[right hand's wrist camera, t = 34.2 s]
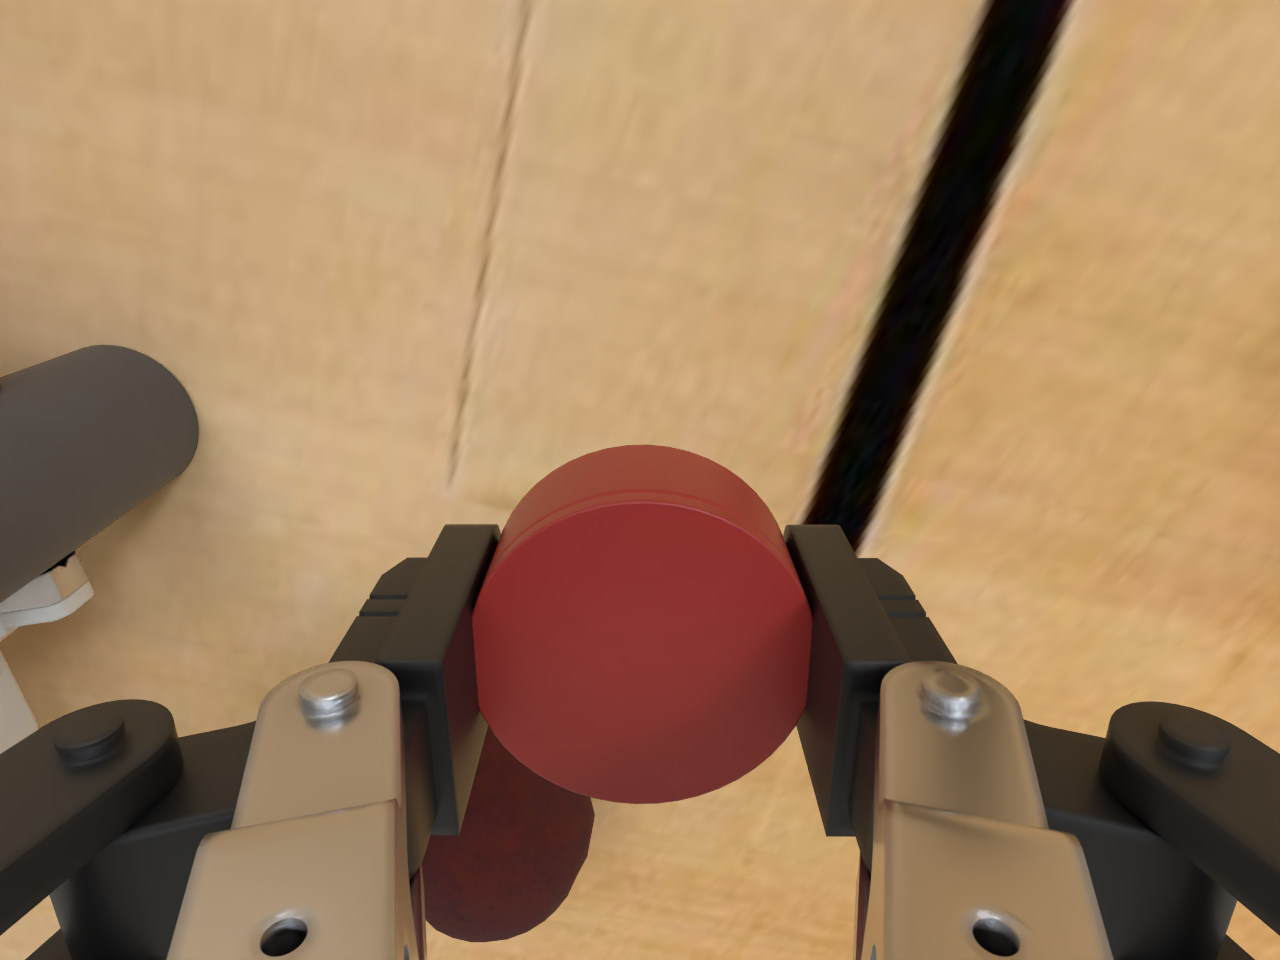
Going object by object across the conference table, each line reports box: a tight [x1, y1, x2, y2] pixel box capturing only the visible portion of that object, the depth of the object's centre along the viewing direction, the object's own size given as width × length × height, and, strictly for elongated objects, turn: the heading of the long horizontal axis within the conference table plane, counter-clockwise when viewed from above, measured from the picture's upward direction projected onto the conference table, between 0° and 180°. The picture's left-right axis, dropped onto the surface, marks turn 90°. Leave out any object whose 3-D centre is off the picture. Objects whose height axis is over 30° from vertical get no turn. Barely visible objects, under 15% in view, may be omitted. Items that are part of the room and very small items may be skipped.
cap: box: [472, 445, 813, 804], centre depth 11 cm, size 4×4×2 cm
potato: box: [421, 726, 595, 942], centre depth 31 cm, size 7×8×7 cm
